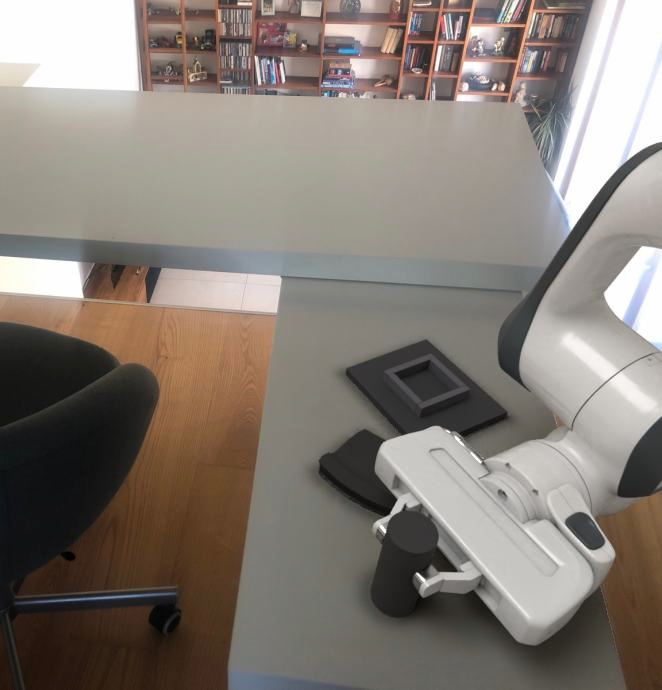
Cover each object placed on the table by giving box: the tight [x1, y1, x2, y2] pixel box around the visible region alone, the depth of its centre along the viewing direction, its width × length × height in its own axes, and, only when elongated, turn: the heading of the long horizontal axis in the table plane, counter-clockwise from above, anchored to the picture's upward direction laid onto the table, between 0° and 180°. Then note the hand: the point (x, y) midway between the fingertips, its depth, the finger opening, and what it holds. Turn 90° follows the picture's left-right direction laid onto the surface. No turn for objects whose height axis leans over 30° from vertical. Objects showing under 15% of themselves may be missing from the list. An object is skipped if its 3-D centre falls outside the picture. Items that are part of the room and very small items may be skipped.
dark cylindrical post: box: [369, 511, 439, 618], centre depth 59 cm, size 4×4×10 cm
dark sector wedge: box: [318, 428, 398, 517], centre depth 70 cm, size 8×14×2 cm, turn 41°
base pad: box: [345, 339, 508, 437], centre depth 80 cm, size 14×12×2 cm
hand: (397, 559), depth 57 cm, fingers closed on dark cylindrical post, 4 cm apart
